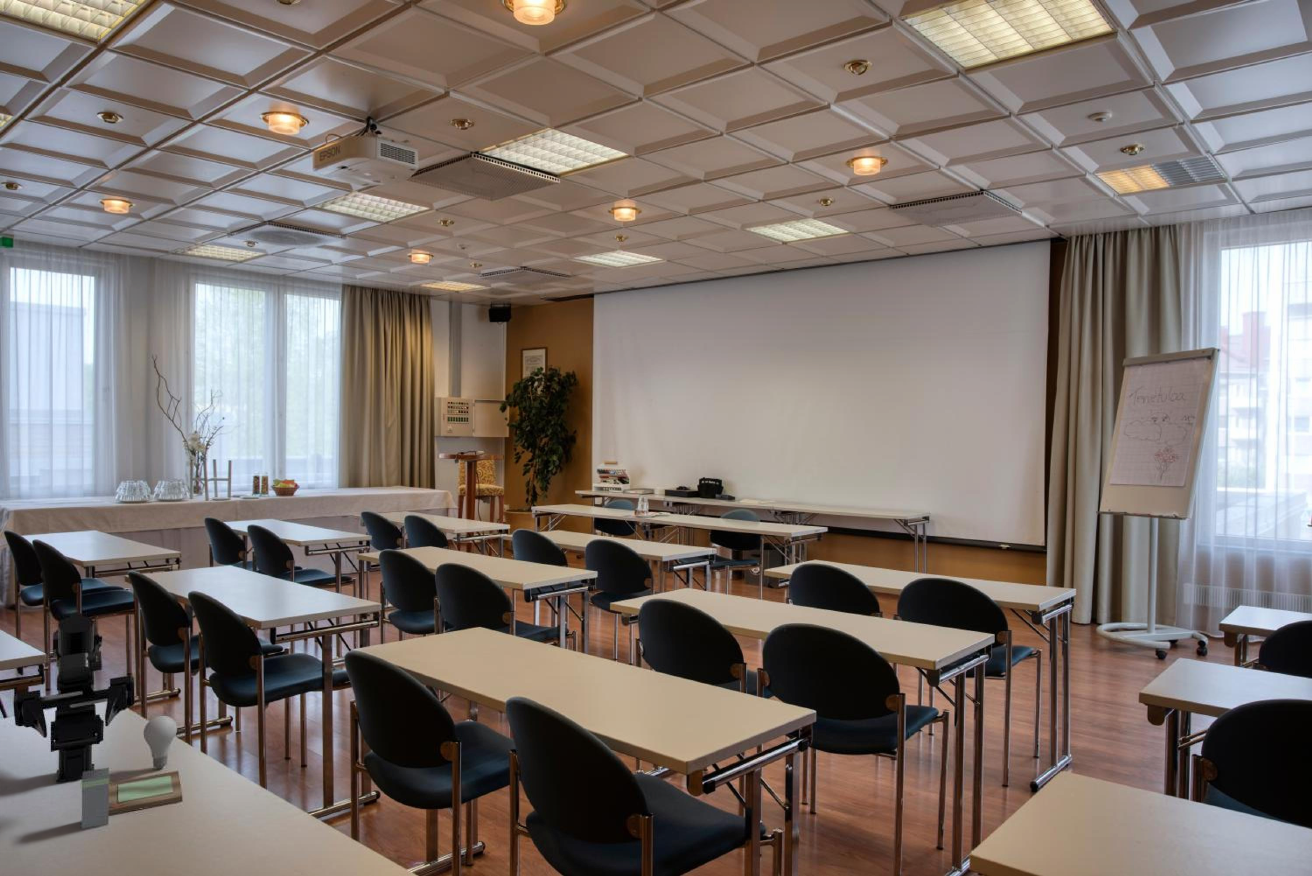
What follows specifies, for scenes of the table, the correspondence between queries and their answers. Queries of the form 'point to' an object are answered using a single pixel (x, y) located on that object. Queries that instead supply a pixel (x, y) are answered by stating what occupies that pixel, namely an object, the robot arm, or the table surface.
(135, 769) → the table surface
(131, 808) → the stand plate
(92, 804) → the column
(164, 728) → the lightbulb
